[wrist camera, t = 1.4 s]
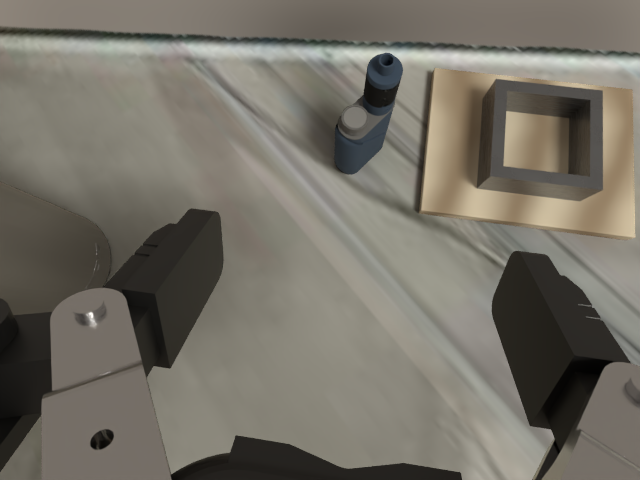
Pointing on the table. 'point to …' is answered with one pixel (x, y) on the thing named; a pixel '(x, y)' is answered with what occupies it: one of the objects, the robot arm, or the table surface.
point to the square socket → (547, 101)
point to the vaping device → (368, 115)
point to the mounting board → (523, 160)
